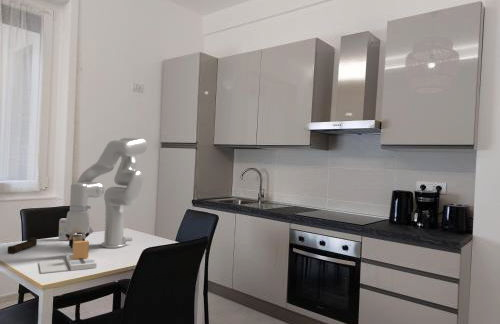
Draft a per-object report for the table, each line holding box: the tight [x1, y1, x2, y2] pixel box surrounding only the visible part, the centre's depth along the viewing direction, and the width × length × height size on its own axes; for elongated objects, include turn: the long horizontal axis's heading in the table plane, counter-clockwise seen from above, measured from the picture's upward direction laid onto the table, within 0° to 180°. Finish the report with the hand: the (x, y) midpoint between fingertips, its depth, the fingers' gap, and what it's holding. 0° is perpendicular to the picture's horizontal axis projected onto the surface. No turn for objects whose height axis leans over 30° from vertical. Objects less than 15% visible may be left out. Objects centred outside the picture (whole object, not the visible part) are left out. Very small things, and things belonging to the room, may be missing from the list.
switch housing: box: [65, 252, 97, 271], centre depth 168 cm, size 10×18×2 cm, turn 32°
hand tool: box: [6, 236, 38, 255], centre depth 188 cm, size 19×4×5 cm, turn 173°
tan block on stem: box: [71, 233, 83, 251], centre depth 176 cm, size 4×14×6 cm, turn 31°
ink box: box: [58, 217, 78, 242], centre depth 211 cm, size 9×5×12 cm, turn 101°
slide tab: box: [72, 240, 90, 259], centre depth 169 cm, size 6×3×7 cm, turn 122°
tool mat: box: [38, 259, 69, 275], centre depth 161 cm, size 10×16×1 cm, turn 32°
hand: (76, 246), depth 180 cm, fingers closed on tan block on stem, 4 cm apart
